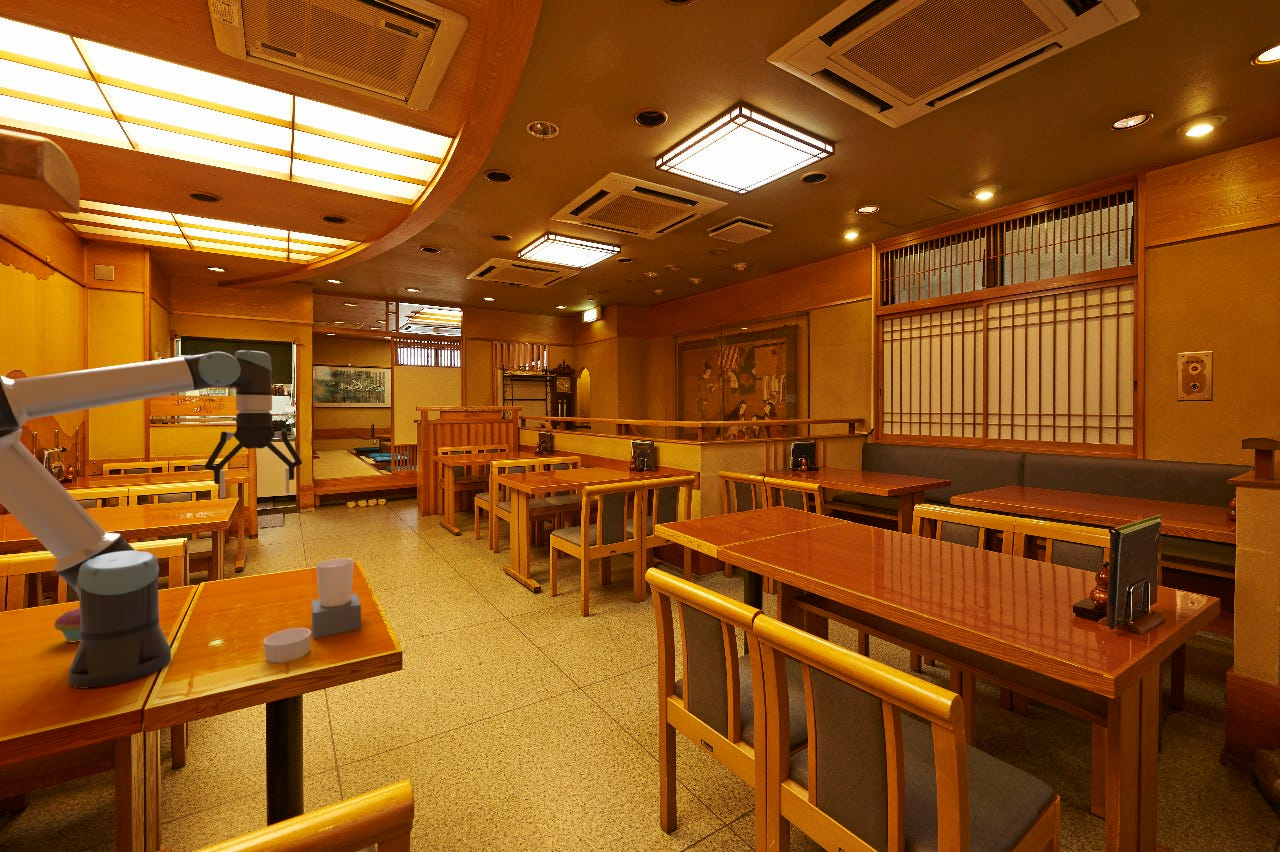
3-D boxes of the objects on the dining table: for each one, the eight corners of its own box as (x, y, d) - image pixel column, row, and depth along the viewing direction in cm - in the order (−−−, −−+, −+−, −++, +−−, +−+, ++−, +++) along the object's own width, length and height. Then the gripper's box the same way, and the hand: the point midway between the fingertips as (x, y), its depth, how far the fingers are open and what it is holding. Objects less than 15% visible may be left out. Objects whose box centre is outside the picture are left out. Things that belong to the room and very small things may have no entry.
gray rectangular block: (313, 638, 127) (312, 613, 126) (311, 624, 135) (311, 600, 135) (361, 629, 132) (360, 604, 132) (356, 616, 140) (356, 593, 140)
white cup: (360, 597, 137) (359, 558, 137) (340, 609, 129) (339, 567, 129) (331, 596, 138) (330, 557, 137) (309, 607, 130) (308, 566, 130)
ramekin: (311, 659, 117) (310, 639, 116) (261, 668, 112) (260, 648, 112) (312, 643, 124) (312, 624, 124) (265, 652, 120) (265, 632, 120)
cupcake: (109, 628, 132) (108, 579, 132) (105, 639, 126) (103, 588, 125) (58, 637, 127) (56, 587, 126) (51, 650, 120) (49, 596, 120)
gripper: (311, 412, 148) (312, 489, 149) (193, 412, 135) (195, 496, 135) (312, 412, 142) (313, 492, 142) (189, 412, 128) (191, 501, 129)
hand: (256, 494), depth 139 cm, fingers open, 13 cm apart
